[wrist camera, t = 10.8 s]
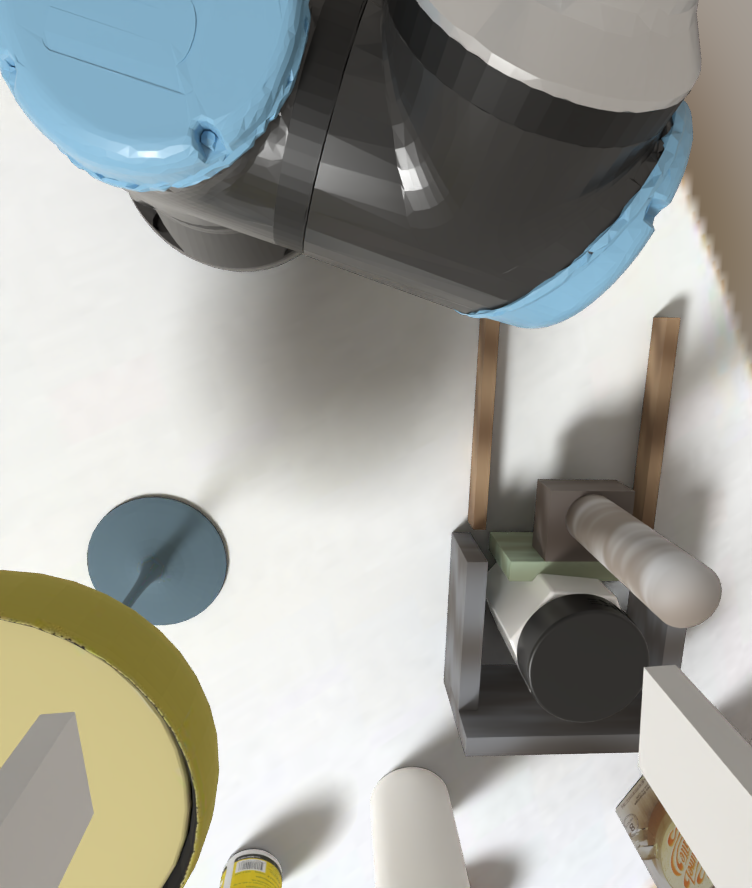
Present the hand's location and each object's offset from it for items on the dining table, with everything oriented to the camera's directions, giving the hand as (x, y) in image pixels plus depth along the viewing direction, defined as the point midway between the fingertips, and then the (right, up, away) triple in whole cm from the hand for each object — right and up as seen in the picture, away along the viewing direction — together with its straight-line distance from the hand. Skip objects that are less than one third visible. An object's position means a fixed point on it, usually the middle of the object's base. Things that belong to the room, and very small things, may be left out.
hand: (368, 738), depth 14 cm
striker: (+15, +1, +35) cm, 38 cm away
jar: (+13, -5, +37) cm, 39 cm away
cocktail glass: (-17, -2, +34) cm, 38 cm away
